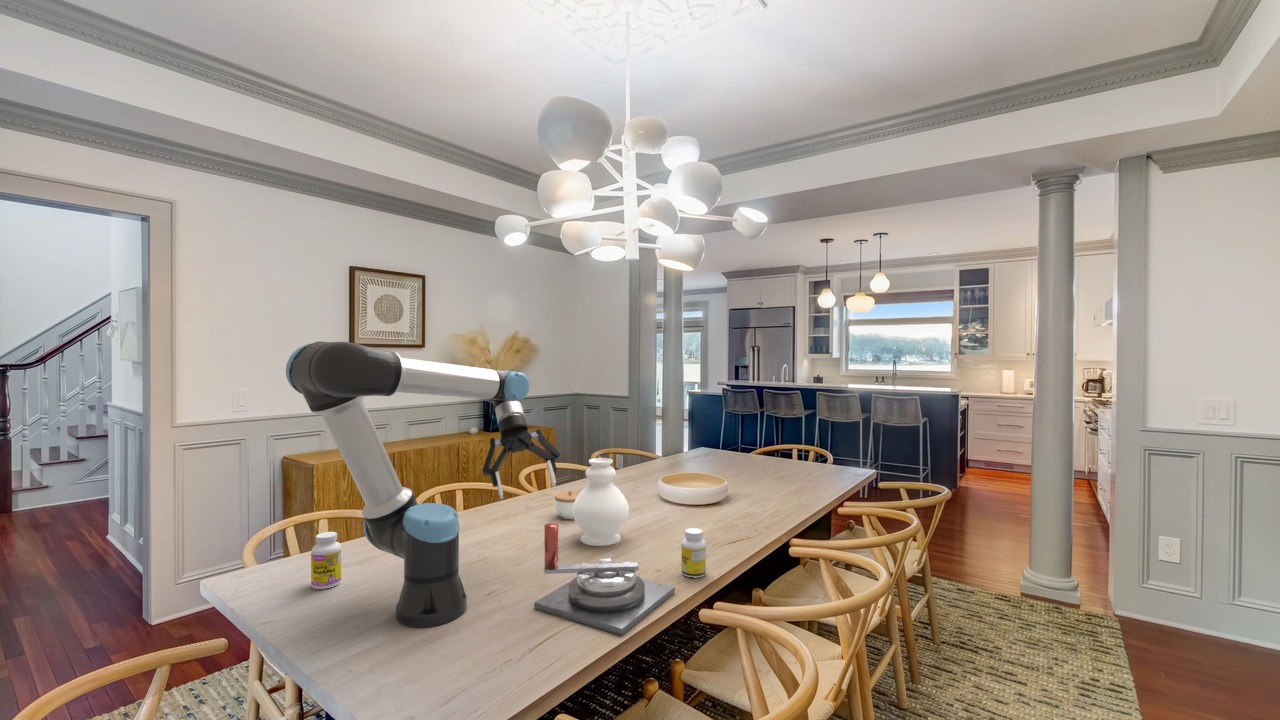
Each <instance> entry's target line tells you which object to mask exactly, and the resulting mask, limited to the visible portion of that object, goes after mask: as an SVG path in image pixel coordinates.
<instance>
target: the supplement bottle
mask: <svg viewBox="0 0 1280 720" xmlns="http://www.w3.org/2000/svg"><path fill="white" fill-rule="evenodd" d="M337 539H338V533H337V532H335V531H325V532H320V533H319V534H316V535H315V542H316V544H315V545H313V546H312V549H311V550H310V551H311V553H310V558H311V559H310V561H311V562H310V565H311V566H310V569H311V570H310V571H311V572H310V576H311V577H310V584H311V588H312V589H314V590H319V589H321V590H328V589H327V588H329V589H332V588H335V587H337V586H339V584H341V581H342V544H341V543H340V542H338V541H337ZM334 586H335V587H334ZM331 587H332V588H331Z"/></svg>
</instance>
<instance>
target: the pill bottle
mask: <svg viewBox="0 0 1280 720" xmlns="http://www.w3.org/2000/svg"><path fill="white" fill-rule="evenodd" d="M703 533H704V531H703V529H701V528H697V527H690V528H686V529H685V530H684V537H685V538H683V540H682V541H681V574H682V575H683V576H685V577H686V576H687V577H686V578H689V577H693V578H692V579H699V578H701V577H704V576H705V575H706V572H707V571H706V569H707V568H706V567H707V566H706V565H707V543H706V541H705V540H704V539H703V535H704V534H703ZM698 577H699V578H698Z"/></svg>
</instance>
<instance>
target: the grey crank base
mask: <svg viewBox="0 0 1280 720" xmlns="http://www.w3.org/2000/svg"><path fill="white" fill-rule="evenodd" d="M675 588H676V587H675V586H672V585H668V584H666V583H665V584H664V583H660V582H656V581H651V580H647V579H644V578H641V577H639V576H638V575H636V586H635V588H634V589H633V590H632V591H630V592H628V593H625V594H622V595H618V596H612V597H598V596H592V595H588V594H585V593H583V592H581V591H580V590H579V589H578V587H577V576H576V577H574V578H573V579H572V580H571V581H569V582H567V583H565V584H564V585H561V586H560V587H558V588H556V589H554V590H553V591H551V592H549V593H548V594H546V595H544V596H542V597H541V598H539V599H537V600H536V601H534V603H533V604H534V605H533V609H535V610H538V611H541V612H543V613H547V614H550V615H554V616H557V617H560V618H563V619H567V620H569V621H573V622H576V623H579V624H582V625H586V626H589V627H592V628H594V629H595V628H596V629H598V630H601V631H604V632H605V631H606V632H609V633H611V634H615V635H618V636H621V637H623V636H624V635H625V634H626V633H627V632H629V631H631V629H632V628H634V627H635V626H636V625H638V623H640V622H641V621H642V620H644V619H645V618H646V617H647V616H648V615H650V614H651V613H652V612H653V611H655V610H656V609H657V608H658V607H659V606H661V605H663V603H664V602H666V601H667V600H668V599H670V598H671V597H672V596H673V595H674V594H675V593H676V590H675ZM673 593H674V594H673ZM671 595H672V596H671ZM666 599H667V600H666ZM665 600H666V601H665ZM660 604H661V605H660Z"/></svg>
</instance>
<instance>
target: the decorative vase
mask: <svg viewBox="0 0 1280 720" xmlns="http://www.w3.org/2000/svg"><path fill="white" fill-rule="evenodd" d="M588 464H589V465H590V466H588V468H587V469H586V470H585V477H586V478H587V479H588V480H589V481H590V482H589V483H588V484H587V485H586V486H585V487H584V488H583V489H582V490H581V491H579V492H580V494H579V495H578V497H577V498H576V500H575V502H574V504H573V508H572V515H573V518H574V519H573V520H574V522H575V523H576V525H577V526H578V527H579V529H581V531H582V532H583V533H584V534H582V535H581V537H580V542H581V541H582V542H581V543H583V544H584V545H587V546H592V547H606V546H607V547H608V546H612V545H615V544H617V543H619V542H620V541H621V540H622V539H621V535H620V534H619V533H618V531H619V530H621V528H622V526H623V525H624V524H625V523H626V521H627V519H628V517H629V514H630V510H629V509H630V507H629V503H628V500H627V499H626V496H625V495H624V494H623V493H622V492H621V490H620V489H619V488H618V487H617V486H616V485H615V484H614V483H613V482H612V480H613V479H614V478H615V477H616V474H617V473H616V469H615V468H614V467H613V466H611V465H612V464H613V459H612V458H608V457H595V458H594V457H593V458H590V459H589V460H588Z"/></svg>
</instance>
